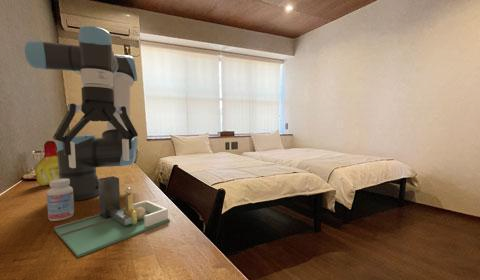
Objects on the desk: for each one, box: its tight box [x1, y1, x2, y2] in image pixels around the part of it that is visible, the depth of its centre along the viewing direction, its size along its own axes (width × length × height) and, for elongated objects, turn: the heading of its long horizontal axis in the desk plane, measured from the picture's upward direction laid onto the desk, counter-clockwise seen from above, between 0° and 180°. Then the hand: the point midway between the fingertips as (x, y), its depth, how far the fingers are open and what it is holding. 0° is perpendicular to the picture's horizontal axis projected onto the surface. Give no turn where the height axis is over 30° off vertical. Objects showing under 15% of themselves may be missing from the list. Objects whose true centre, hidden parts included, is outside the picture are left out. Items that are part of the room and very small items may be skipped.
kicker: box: [98, 175, 137, 225], centre depth 62 cm, size 14×4×11 cm, turn 51°
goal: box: [134, 199, 169, 227], centre depth 65 cm, size 12×7×4 cm, turn 51°
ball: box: [134, 207, 146, 220], centre depth 63 cm, size 4×4×4 cm
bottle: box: [34, 140, 59, 186], centre depth 102 cm, size 12×6×20 cm, turn 138°
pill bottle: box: [46, 179, 75, 222], centre depth 66 cm, size 6×6×11 cm
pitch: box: [54, 208, 171, 258], centre depth 60 cm, size 18×22×1 cm
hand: (101, 163), depth 63 cm, fingers open, 13 cm apart
